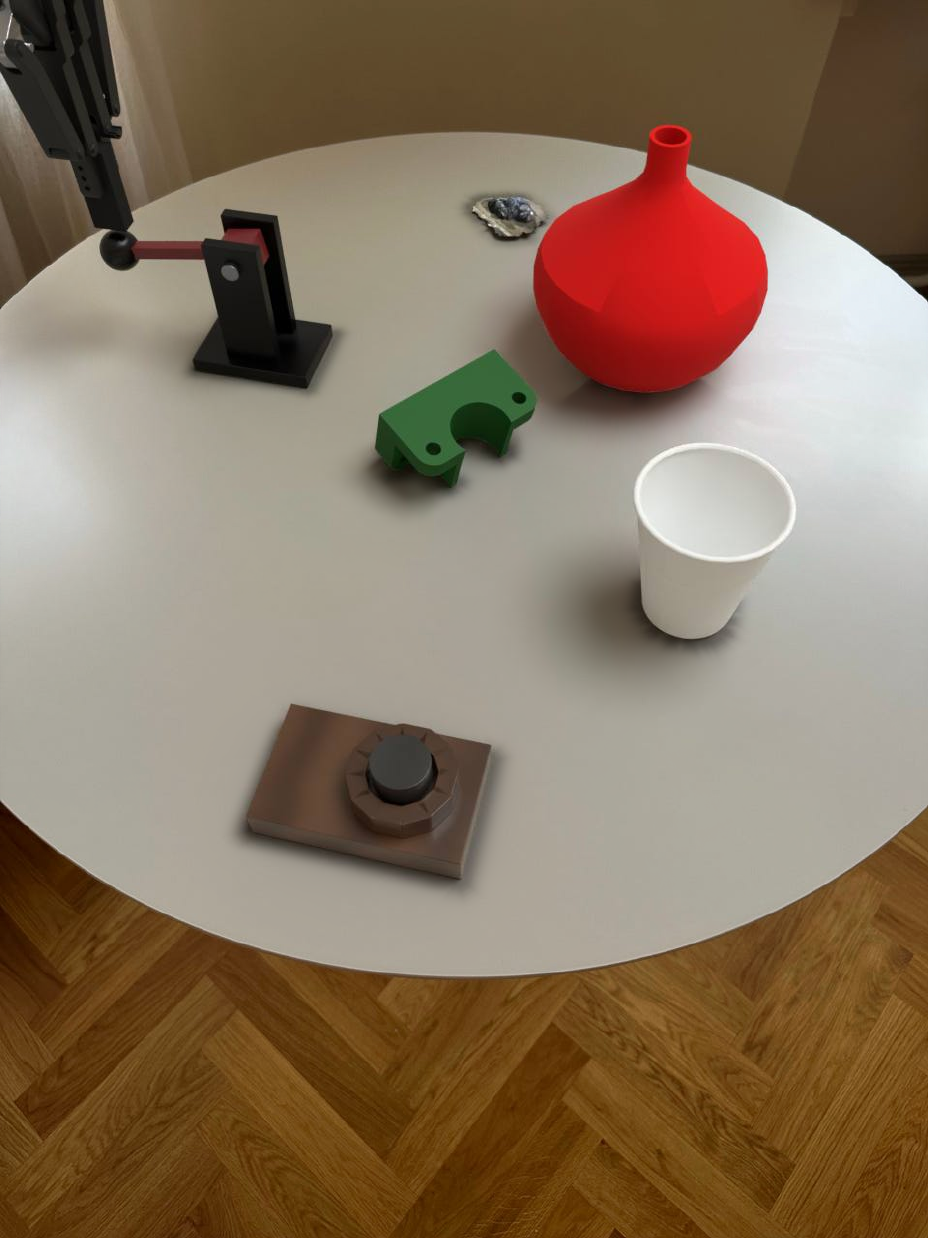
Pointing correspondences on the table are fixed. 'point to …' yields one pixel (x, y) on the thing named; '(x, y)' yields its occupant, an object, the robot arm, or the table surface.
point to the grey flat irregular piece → (510, 215)
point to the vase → (650, 277)
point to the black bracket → (256, 310)
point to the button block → (368, 793)
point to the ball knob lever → (165, 248)
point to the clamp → (455, 417)
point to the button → (401, 768)
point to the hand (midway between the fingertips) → (114, 224)
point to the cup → (706, 533)
